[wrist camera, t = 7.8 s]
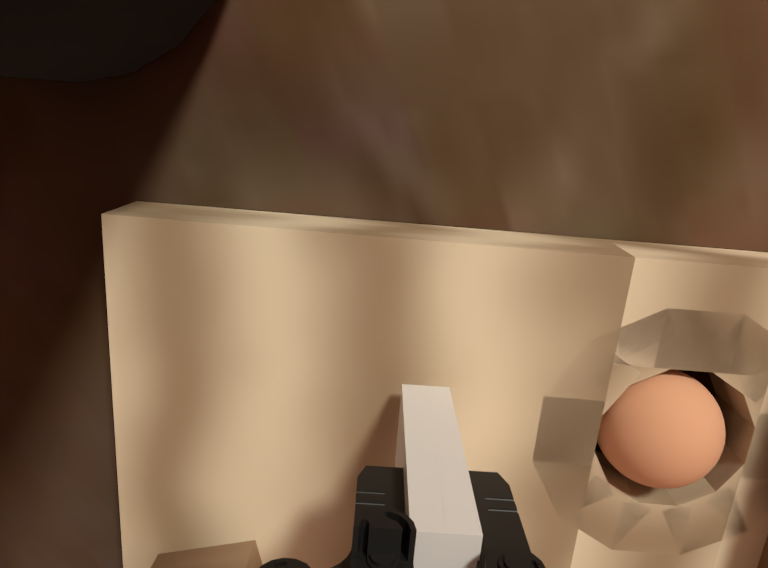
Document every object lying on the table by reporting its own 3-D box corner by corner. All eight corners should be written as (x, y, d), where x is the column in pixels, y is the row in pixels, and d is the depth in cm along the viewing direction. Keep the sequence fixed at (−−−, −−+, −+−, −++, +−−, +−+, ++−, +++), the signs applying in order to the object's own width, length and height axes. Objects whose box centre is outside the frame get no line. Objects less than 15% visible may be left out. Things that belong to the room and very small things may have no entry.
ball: (627, 447, 23) (562, 468, 20) (643, 347, 22) (577, 357, 20) (736, 495, 20) (673, 525, 17) (758, 380, 19) (696, 396, 17)
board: (153, 581, 24) (87, 711, 19) (136, 201, 20) (42, 234, 15) (748, 629, 25) (844, 771, 19) (869, 260, 20) (1039, 315, 15)
